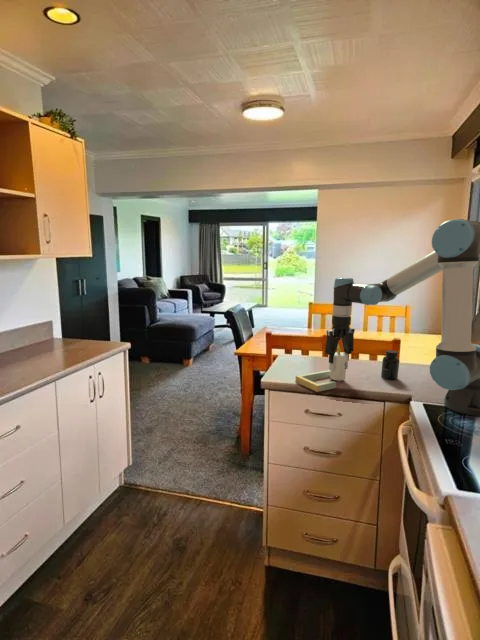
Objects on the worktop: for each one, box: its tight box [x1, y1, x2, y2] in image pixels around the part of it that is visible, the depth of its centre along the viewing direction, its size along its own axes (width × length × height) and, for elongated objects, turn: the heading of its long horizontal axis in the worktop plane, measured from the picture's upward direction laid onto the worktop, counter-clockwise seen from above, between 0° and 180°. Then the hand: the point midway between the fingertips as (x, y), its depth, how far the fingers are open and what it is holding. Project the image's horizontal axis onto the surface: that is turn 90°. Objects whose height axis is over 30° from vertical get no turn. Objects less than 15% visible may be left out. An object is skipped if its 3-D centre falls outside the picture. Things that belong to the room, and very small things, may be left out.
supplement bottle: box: [380, 349, 400, 381], centre depth 175 cm, size 7×7×12 cm
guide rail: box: [295, 369, 337, 393], centre depth 168 cm, size 14×22×2 cm, turn 120°
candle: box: [329, 343, 347, 381], centre depth 170 cm, size 6×6×15 cm
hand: (338, 369), depth 171 cm, fingers closed on candle, 6 cm apart
